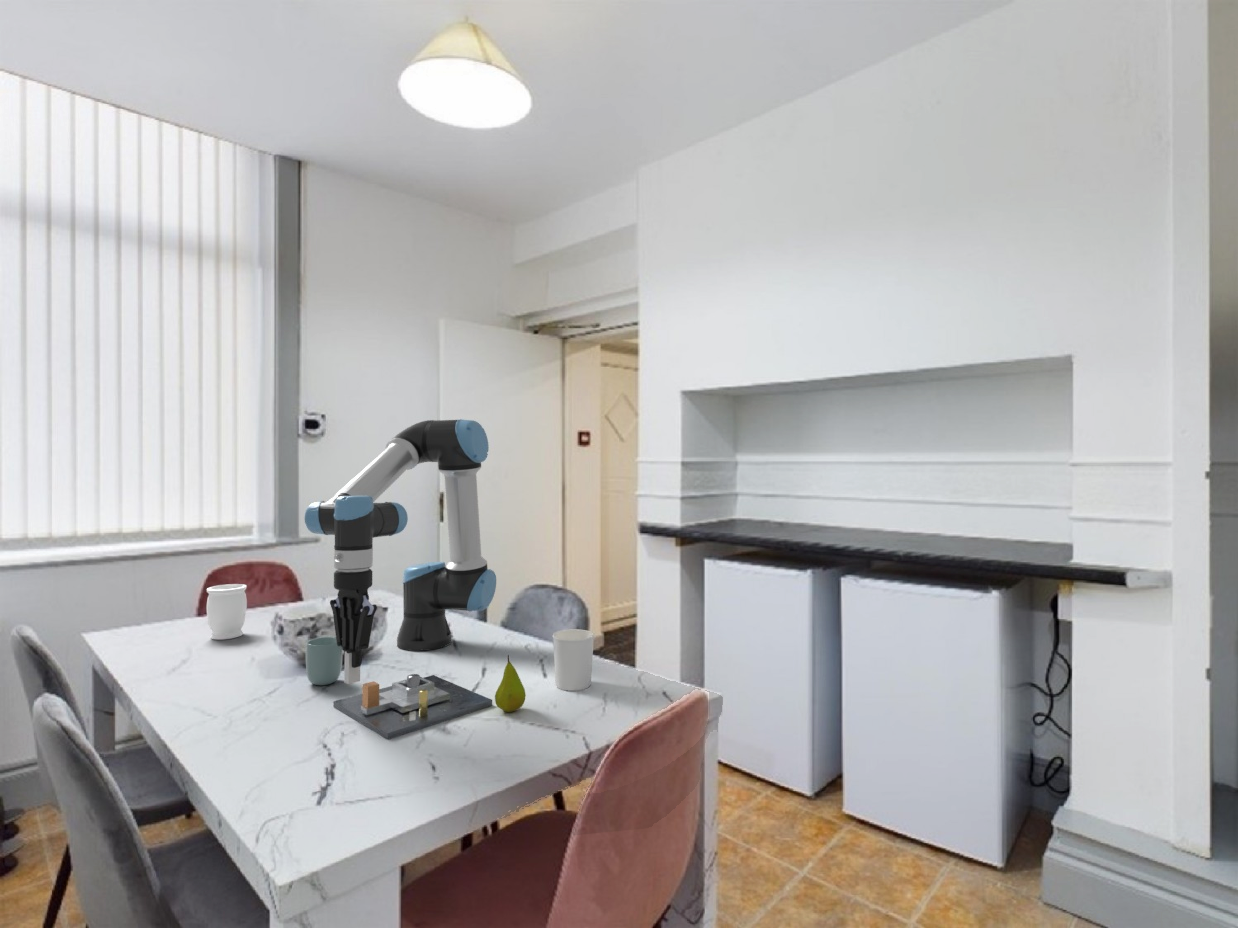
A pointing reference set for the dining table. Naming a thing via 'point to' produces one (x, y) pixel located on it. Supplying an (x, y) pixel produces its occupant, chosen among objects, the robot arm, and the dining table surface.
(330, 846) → the dining table surface
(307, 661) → the cup
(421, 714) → the dowel
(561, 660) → the white tumbler
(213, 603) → the jar
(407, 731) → the base
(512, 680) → the fruit
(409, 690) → the grey metal fixture
